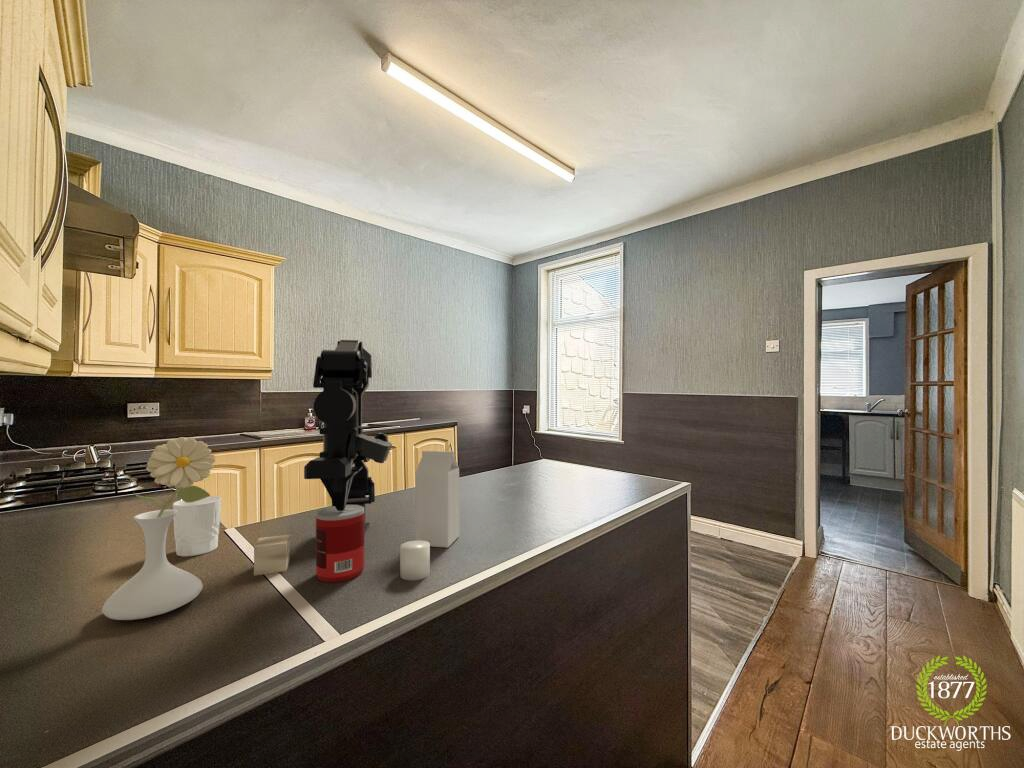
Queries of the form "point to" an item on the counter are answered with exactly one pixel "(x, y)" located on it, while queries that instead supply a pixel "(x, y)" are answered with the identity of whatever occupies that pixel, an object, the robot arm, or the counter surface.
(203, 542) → the white cup
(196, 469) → the flower in vase
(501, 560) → the counter surface
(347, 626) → the counter surface
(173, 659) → the counter surface
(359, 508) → the canned food
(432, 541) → the milk carton
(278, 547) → the birch block
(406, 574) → the off-white smooth rounded part
